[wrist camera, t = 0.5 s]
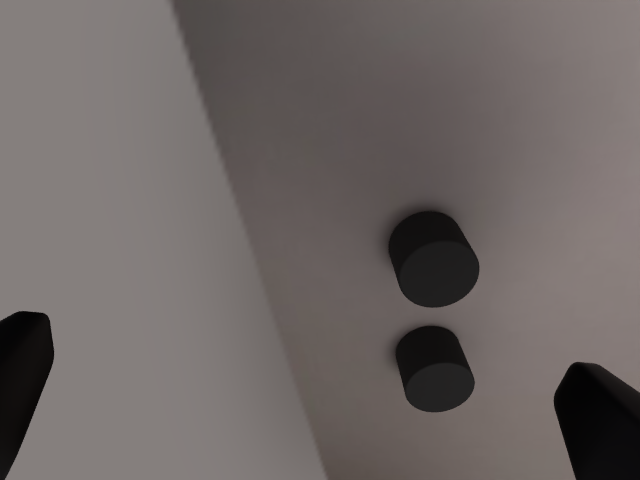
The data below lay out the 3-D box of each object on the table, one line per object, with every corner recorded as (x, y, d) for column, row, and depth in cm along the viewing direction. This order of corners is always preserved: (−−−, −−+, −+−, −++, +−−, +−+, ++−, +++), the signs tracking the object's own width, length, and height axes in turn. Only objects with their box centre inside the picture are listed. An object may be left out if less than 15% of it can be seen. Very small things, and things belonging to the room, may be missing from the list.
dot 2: (447, 376, 26) (461, 415, 24) (388, 370, 25) (397, 409, 23) (468, 330, 24) (485, 367, 22) (405, 322, 24) (416, 359, 22)
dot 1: (448, 278, 23) (464, 312, 20) (380, 268, 22) (389, 303, 20) (471, 216, 21) (492, 247, 19) (399, 205, 21) (411, 235, 18)
